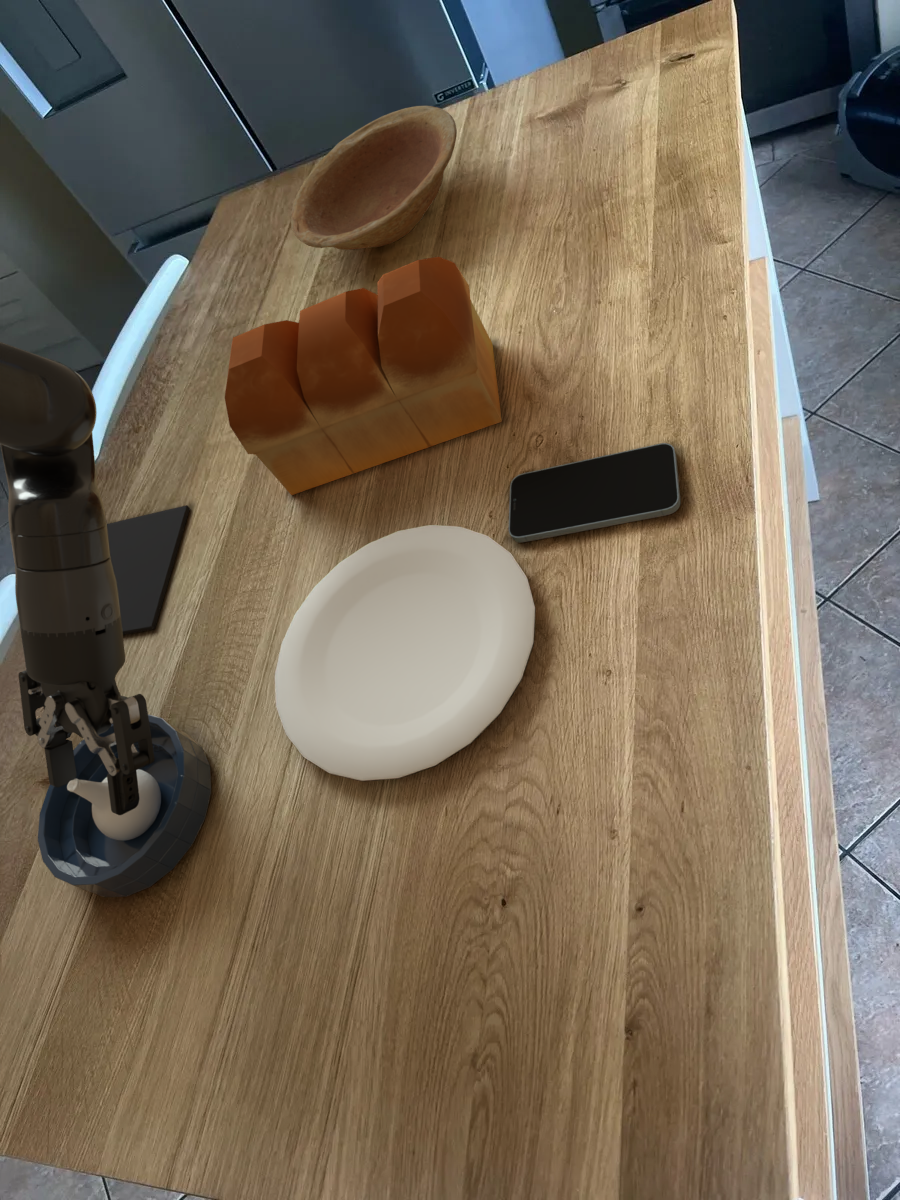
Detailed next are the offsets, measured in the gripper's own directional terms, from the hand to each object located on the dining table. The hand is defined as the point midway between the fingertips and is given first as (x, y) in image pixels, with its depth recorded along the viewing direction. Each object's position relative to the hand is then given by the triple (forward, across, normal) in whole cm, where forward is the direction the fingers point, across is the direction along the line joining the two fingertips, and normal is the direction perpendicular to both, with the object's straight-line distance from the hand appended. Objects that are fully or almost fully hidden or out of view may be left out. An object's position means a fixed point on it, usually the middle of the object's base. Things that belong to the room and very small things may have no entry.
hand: (93, 796), depth 77 cm
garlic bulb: (+3, 0, +4) cm, 6 cm away
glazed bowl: (+4, 0, +5) cm, 6 cm away
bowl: (-52, -12, +60) cm, 81 cm away
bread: (-29, +4, +38) cm, 48 cm away
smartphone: (-24, +30, +32) cm, 50 cm away
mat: (-12, -22, +20) cm, 32 cm away
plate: (-11, +19, +20) cm, 29 cm away
